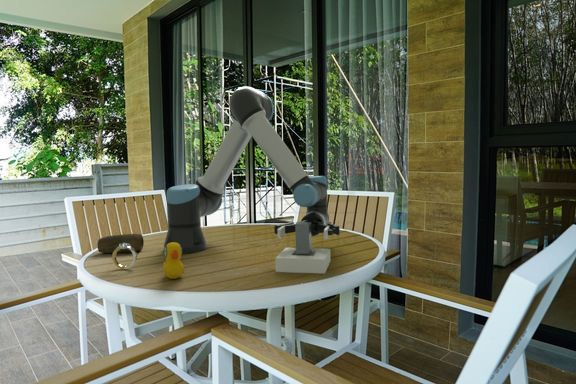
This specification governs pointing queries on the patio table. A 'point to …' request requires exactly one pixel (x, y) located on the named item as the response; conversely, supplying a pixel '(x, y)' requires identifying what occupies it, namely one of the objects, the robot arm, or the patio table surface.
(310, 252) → the tall dark grey pillar
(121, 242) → the stone weight
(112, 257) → the ring
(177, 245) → the duckling
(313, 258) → the well block
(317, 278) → the patio table surface
